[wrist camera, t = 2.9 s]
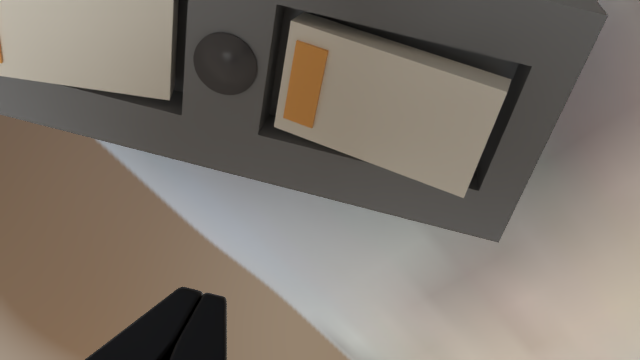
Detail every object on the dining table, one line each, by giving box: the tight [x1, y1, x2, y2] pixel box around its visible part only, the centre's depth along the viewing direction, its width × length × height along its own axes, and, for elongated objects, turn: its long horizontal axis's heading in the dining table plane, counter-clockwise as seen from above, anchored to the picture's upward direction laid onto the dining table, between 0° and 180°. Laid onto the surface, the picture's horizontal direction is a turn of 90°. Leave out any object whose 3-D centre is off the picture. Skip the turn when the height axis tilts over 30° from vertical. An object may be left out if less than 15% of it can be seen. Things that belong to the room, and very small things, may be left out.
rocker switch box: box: [0, 0, 608, 242], centre depth 19 cm, size 20×8×3 cm, turn 79°
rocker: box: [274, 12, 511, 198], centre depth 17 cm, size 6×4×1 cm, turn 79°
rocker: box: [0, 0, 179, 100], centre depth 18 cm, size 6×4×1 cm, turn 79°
